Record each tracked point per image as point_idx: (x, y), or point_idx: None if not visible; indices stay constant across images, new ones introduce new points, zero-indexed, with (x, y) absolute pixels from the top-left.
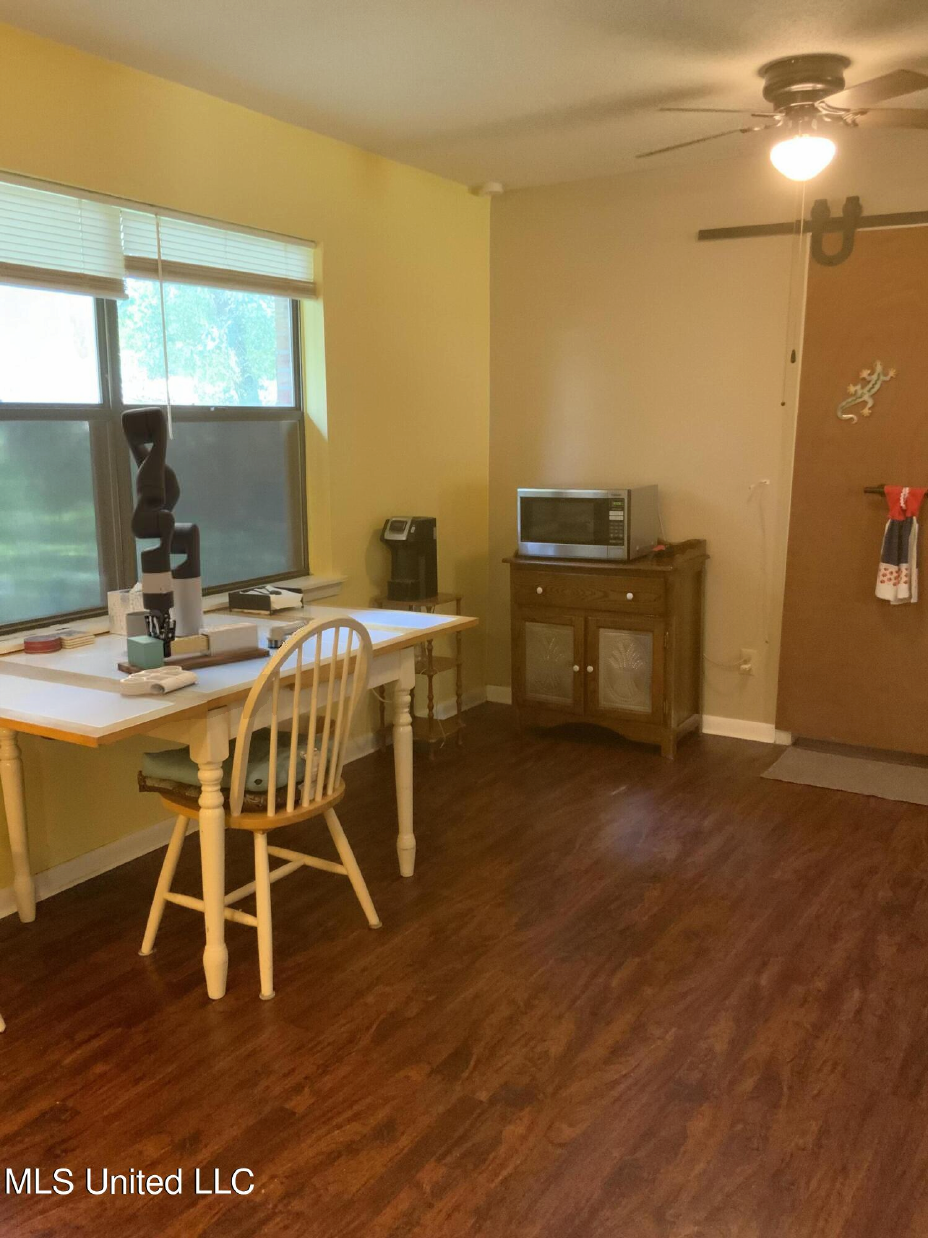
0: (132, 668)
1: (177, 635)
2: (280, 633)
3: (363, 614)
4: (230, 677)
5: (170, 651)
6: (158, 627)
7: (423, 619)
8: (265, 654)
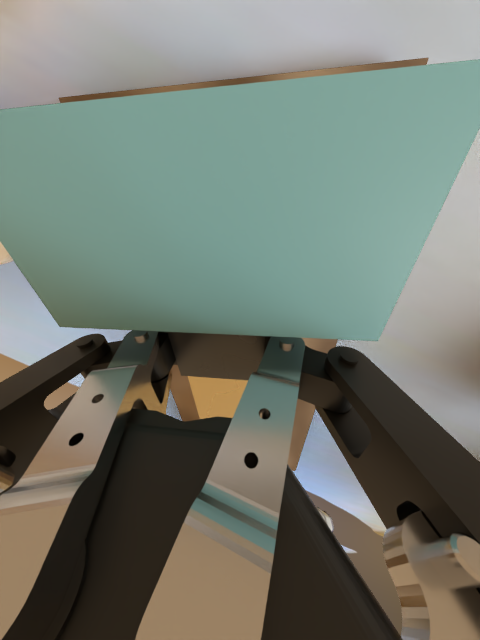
0: (177, 88)
1: None
2: None
3: (343, 546)
4: (26, 342)
5: None
6: (55, 428)
7: None
8: None
